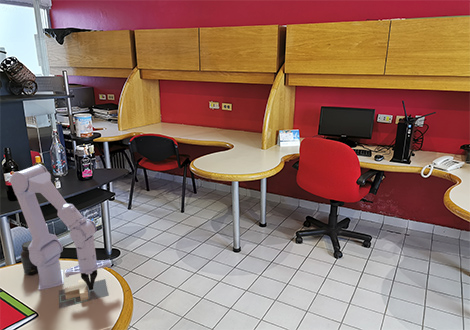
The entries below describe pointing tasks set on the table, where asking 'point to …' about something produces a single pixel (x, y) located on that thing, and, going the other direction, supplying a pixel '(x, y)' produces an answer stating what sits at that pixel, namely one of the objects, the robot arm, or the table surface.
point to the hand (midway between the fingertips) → (91, 288)
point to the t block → (77, 291)
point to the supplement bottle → (27, 260)
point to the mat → (97, 292)
